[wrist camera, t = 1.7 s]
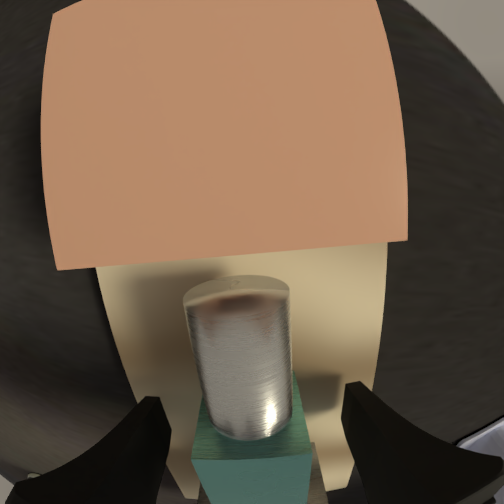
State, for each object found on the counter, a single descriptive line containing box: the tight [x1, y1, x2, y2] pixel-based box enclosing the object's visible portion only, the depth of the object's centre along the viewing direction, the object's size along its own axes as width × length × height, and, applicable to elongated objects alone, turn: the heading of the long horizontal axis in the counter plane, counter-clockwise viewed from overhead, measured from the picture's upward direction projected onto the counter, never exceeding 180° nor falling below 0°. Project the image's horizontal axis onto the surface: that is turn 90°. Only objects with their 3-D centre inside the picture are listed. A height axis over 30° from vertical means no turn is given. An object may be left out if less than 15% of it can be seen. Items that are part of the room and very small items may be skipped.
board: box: [96, 242, 387, 499], centre depth 11 cm, size 22×10×1 cm, turn 5°
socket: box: [41, 0, 408, 270], centre depth 6 cm, size 6×6×4 cm
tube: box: [183, 275, 313, 504], centre depth 9 cm, size 15×3×4 cm, turn 5°
